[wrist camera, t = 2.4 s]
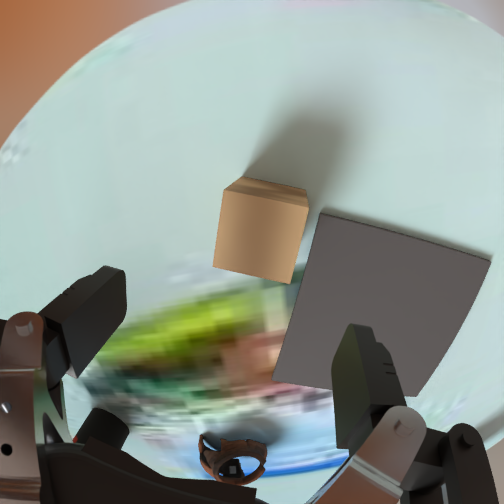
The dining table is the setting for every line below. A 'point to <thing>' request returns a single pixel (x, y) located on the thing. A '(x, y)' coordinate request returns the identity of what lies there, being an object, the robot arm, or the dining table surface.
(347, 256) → the charcoal mat
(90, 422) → the wine bottle
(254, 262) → the oak block
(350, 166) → the dining table surface
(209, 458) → the brown hollow rounded piece
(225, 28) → the dining table surface
